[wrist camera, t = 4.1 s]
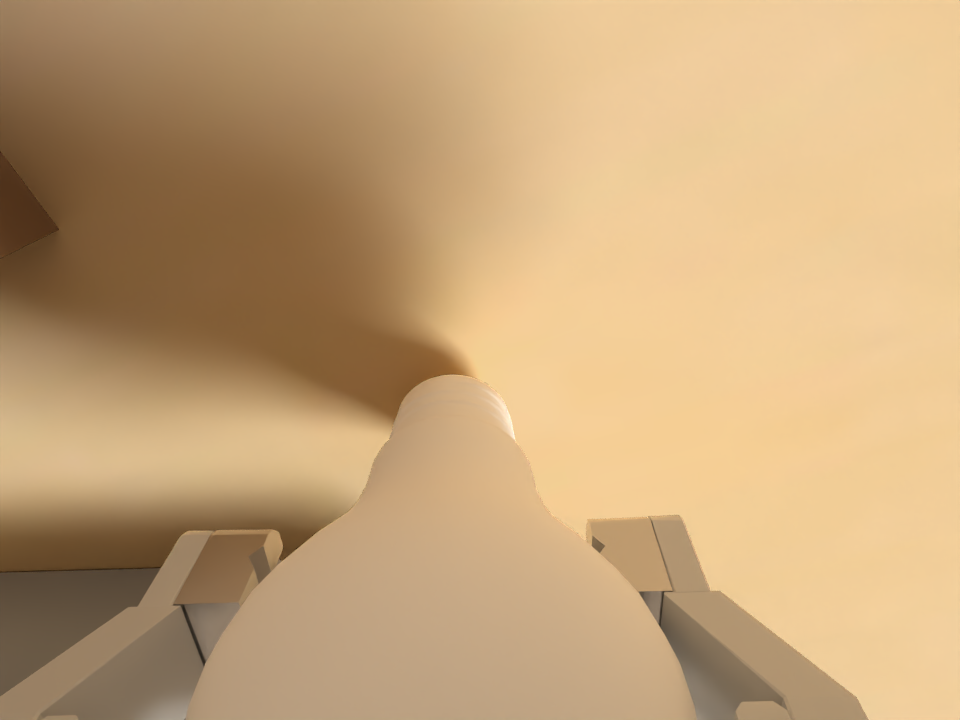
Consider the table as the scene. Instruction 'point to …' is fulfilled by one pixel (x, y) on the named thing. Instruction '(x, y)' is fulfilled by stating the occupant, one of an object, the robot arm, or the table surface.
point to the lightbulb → (444, 597)
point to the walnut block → (19, 212)
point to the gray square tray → (59, 613)
